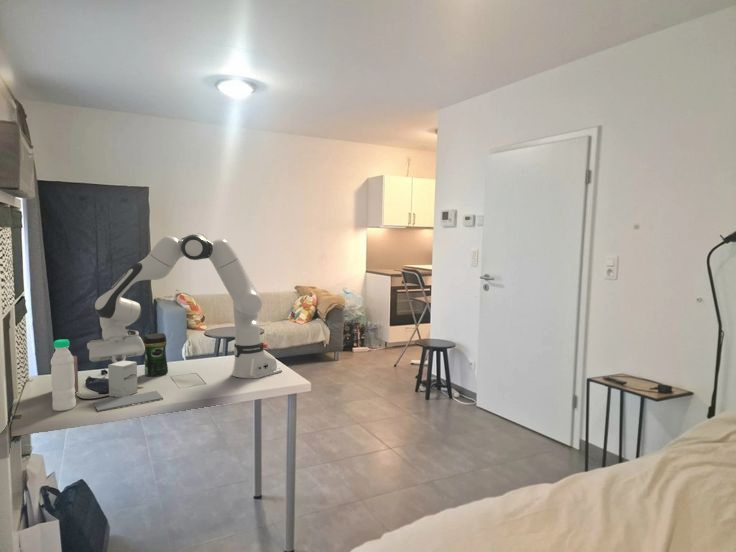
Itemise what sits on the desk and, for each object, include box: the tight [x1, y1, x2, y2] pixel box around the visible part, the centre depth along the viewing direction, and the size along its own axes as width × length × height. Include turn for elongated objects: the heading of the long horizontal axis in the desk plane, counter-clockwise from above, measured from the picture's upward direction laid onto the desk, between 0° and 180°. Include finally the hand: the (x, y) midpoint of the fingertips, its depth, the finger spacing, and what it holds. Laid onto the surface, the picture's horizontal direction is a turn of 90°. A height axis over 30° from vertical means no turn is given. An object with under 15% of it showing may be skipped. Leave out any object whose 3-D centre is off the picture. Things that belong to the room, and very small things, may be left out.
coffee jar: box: [143, 332, 169, 377], centre depth 211 cm, size 10×8×19 cm
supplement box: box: [107, 360, 138, 398], centre depth 184 cm, size 7×7×13 cm
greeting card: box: [72, 355, 79, 394], centre depth 185 cm, size 11×7×15 cm, turn 42°
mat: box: [92, 390, 164, 413], centre depth 177 cm, size 22×10×1 cm, turn 128°
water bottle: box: [50, 338, 77, 412], centre depth 168 cm, size 7×7×25 cm
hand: (120, 366), depth 188 cm, fingers closed
